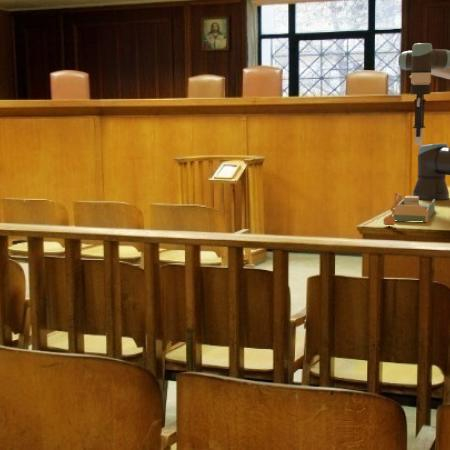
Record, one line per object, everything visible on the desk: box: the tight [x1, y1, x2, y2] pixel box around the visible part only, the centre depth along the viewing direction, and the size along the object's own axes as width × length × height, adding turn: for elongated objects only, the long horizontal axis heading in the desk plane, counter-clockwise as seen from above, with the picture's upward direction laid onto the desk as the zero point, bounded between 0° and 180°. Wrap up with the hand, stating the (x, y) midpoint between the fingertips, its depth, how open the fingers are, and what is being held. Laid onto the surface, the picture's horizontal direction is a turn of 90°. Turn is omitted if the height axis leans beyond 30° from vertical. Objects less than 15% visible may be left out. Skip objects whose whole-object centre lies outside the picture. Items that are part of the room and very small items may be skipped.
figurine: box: [383, 191, 403, 226], centre depth 262 cm, size 8×6×12 cm
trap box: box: [392, 198, 436, 223], centre depth 286 cm, size 30×12×6 cm, turn 160°
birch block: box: [403, 195, 420, 206], centre depth 296 cm, size 5×5×3 cm
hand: (418, 144), depth 305 cm, fingers open, 3 cm apart
